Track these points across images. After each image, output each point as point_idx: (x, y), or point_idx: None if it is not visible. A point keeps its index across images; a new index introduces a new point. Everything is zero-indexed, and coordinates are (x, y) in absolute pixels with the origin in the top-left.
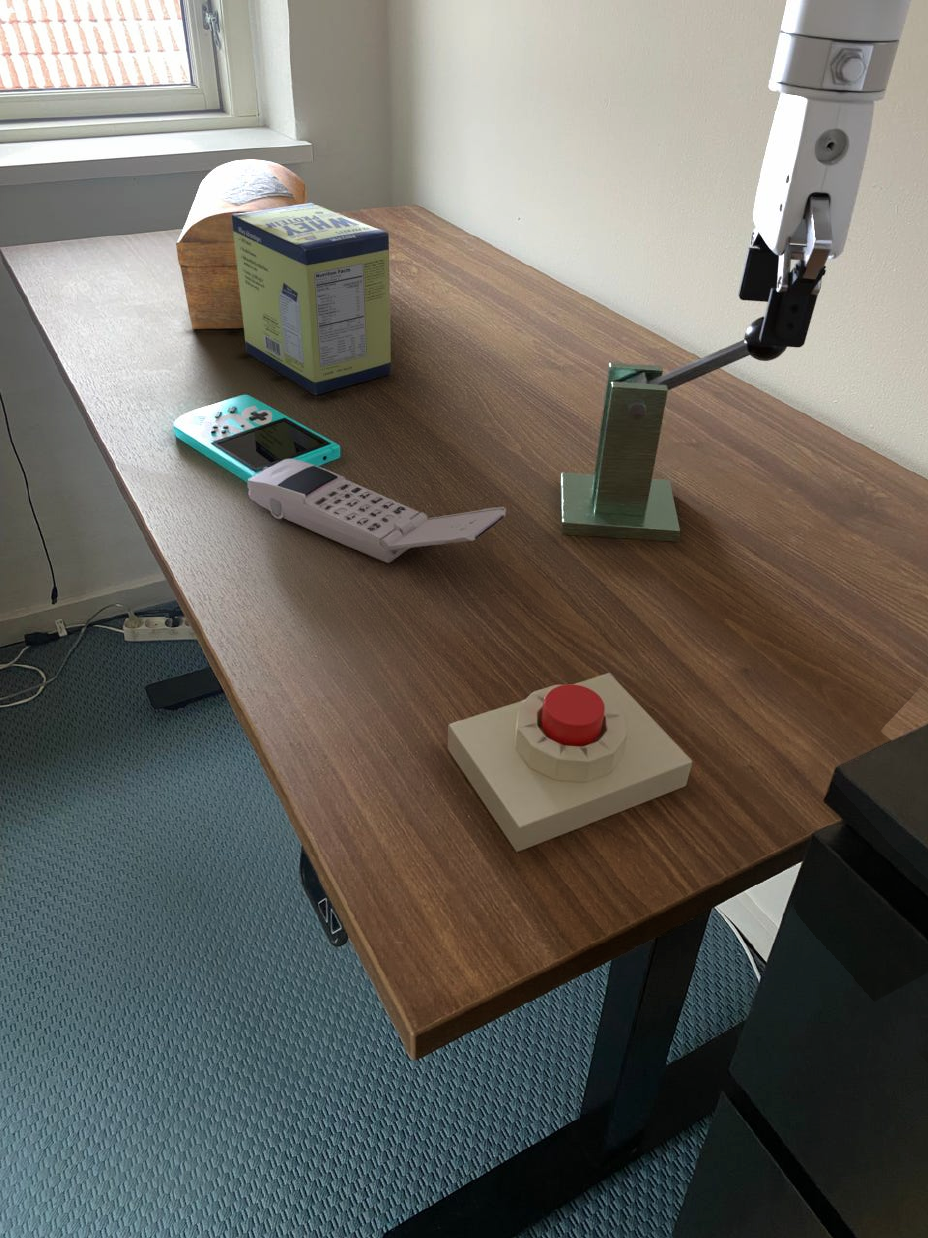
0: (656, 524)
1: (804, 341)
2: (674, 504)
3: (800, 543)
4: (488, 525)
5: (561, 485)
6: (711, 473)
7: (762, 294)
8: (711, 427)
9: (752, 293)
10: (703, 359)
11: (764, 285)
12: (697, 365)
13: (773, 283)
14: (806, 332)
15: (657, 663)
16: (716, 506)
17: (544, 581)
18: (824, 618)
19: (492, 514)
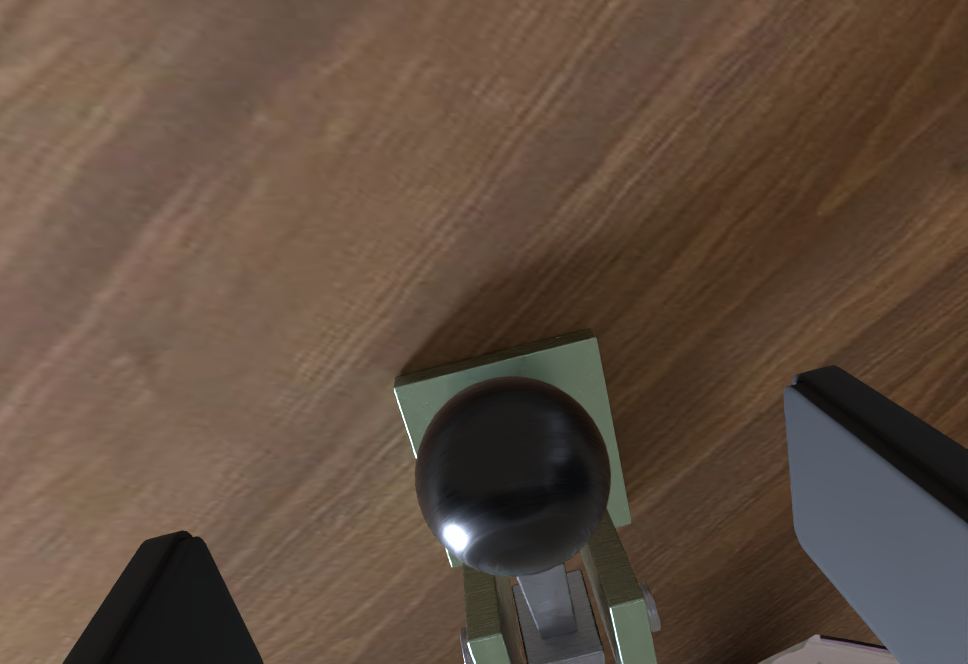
0: (588, 381)
1: (842, 371)
2: (496, 362)
3: (507, 83)
4: (864, 648)
5: None
6: (268, 302)
7: (221, 618)
8: (17, 332)
9: (242, 660)
10: (540, 587)
11: (202, 659)
12: (567, 588)
13: (181, 635)
14: (872, 393)
15: (951, 303)
16: (417, 274)
17: (768, 496)
18: (782, 25)
19: (820, 651)
